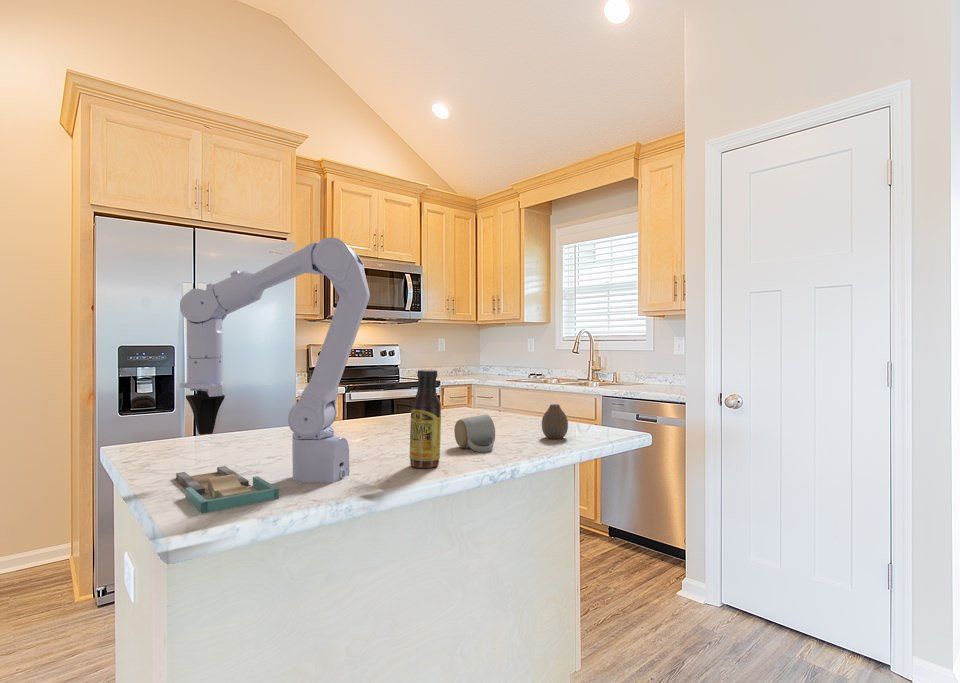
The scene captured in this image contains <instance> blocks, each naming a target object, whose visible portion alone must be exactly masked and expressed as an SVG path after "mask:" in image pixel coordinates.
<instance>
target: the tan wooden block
mask: <svg viewBox="0 0 960 683" xmlns="http://www.w3.org/2000/svg"><path fill="white" fill-rule="evenodd" d="M249 492H253V490H252V489H250V488H248V487H245V486H244V485H243V486H238V487H232V488H226V489H220V490H217V498H222V497H227V496H233V495H238V494H244V493H249Z"/></svg>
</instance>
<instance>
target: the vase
mask: <svg viewBox="0 0 960 683" xmlns="http://www.w3.org/2000/svg"><path fill="white" fill-rule="evenodd" d="M568 421H569V420H568V417H567V414H566V413H565V412H564V411H563V410H562V408H561V406H560V404H558V403H553V404H552V403H551V404H550V405H549V407H548V409H547V410H546V411H545V412H544V414H543V416H542V419H541V430H542V433H543V435H544V436H545V437H546V438H547V439H549V440H562V439H564V438H565V436H566V435H567V433H568V431H569V430H568V429H569V422H568Z"/></svg>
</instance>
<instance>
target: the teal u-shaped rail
mask: <svg viewBox="0 0 960 683" xmlns="http://www.w3.org/2000/svg"><path fill="white" fill-rule="evenodd" d="M252 487H253V488H255V489H257V490H256V491H252V492H249V493H244V494H238V495H233V496H227V497H222V498H216V499H214V498H212V499H205V497H203V496H202V495H200V494H199V493H197V492H196V491H195V490H194V489H193V488H192V487H188V488H186V490H185V499H186V500H187V501H188V502H189V503H190V504H191V505H192V506H193V507H194V508H196V509H197V510H198V511H199V512H200V514H206V513H211V512H216V511H221V510H226V509H233V508H237V507H242V506H247V505H252V504H257V503H263V502H268V501H274V500H278V499H279V498H280V488H279V487H277V486H276V485H273V484H272V483H270V482H268V481H266V480H265V479H263V478H261V476H258V475H257V476H252Z"/></svg>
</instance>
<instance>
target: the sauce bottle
mask: <svg viewBox="0 0 960 683" xmlns="http://www.w3.org/2000/svg"><path fill="white" fill-rule="evenodd" d="M437 378H438V370H437V369H436V370H435V369H418V370H417V379H418V380H417V392H416V395H415V398H414V400H413V401H414V402H413V405H412V407H411V410H410V428H409V429H410V430H409V431H410V432H409V433H410V434H409V460H410V461H409V462H410V463H409V464H410V466H411V467H413V468H416V469H432V468H435V467H438V466H439V464H440V459H441V440H442V439H441V438H442V436H441V433H442V432H441V431H442V430H441V429H442V428H441V426H442V415H441V414H442V413H441V412H442V404H441V400H440V398H439V397H438V394H437Z"/></svg>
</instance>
